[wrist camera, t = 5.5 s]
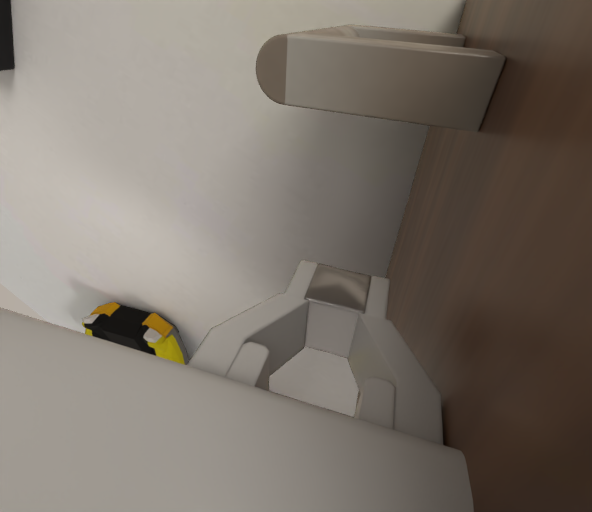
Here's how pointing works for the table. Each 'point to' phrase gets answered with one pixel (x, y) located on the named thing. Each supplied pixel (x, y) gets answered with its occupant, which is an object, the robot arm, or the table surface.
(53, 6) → the table surface
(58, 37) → the table surface
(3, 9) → the control block
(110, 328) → the gaming controller
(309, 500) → the robot arm
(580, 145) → the cupboard door
